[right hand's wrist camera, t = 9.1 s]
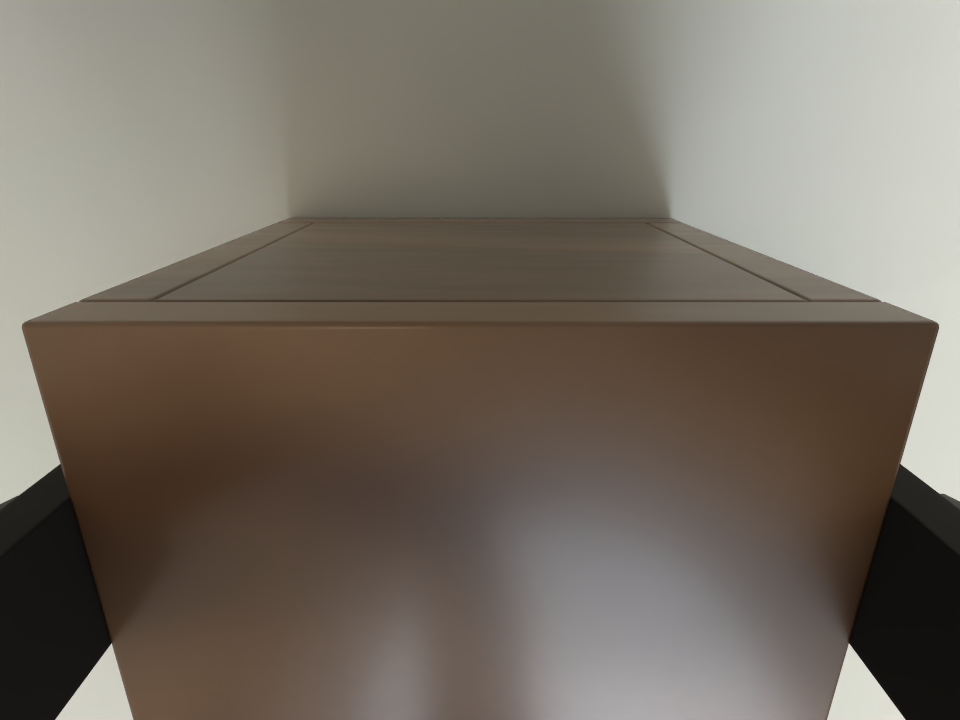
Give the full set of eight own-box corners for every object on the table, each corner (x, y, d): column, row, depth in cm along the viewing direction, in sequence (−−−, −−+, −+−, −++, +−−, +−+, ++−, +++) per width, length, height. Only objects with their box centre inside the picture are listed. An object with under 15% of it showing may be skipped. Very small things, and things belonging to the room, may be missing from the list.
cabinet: (620, 680, 24) (725, 1078, 14) (338, 681, 24) (234, 1079, 14) (673, 218, 18) (944, 322, 7) (286, 217, 18) (16, 322, 7)
